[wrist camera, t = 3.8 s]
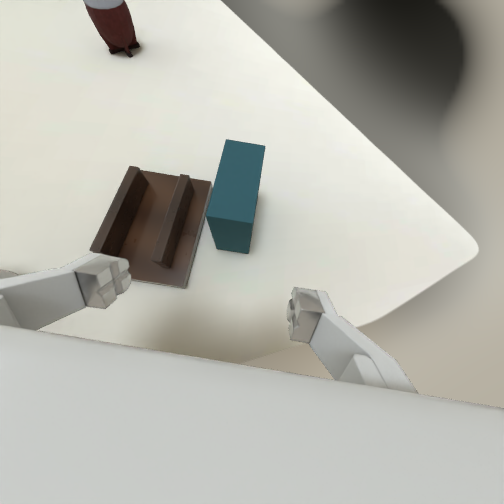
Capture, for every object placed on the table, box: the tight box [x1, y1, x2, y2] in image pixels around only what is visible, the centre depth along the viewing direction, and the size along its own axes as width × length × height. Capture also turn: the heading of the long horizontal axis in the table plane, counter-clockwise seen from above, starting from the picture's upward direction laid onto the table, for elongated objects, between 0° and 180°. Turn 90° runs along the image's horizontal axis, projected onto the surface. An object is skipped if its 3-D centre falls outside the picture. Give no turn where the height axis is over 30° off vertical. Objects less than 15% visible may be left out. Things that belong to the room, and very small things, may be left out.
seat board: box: [90, 166, 212, 288], centre depth 24 cm, size 16×12×4 cm
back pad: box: [206, 139, 265, 254], centre depth 23 cm, size 10×4×9 cm, turn 172°
